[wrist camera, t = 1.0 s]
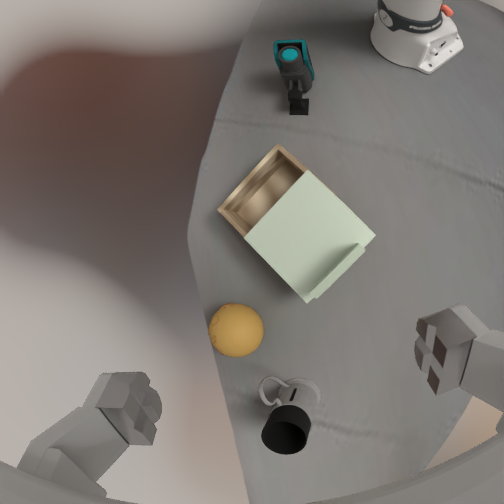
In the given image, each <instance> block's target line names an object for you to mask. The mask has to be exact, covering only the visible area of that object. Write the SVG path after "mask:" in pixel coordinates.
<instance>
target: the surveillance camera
mask: <svg viewBox="0 0 504 504" xmlns="http://www.w3.org/2000/svg"><path fill="white" fill-rule="evenodd" d="M274 56H275V61H276V63H277V65H278V67H279V70H280V73H281V75H282V78H283V80H284V82H285V84H286V87H287V89H288V90H289V93H288V100H289V102H291V103H290V115H308V108H309V99H302V91H308V90H310V89H311V87H312V80H314V71H313V67H312V64H311V60H310V56H309V52H308V48H307V45H306V42H305V41H304V40H302V39H300V40H278V41H275V42H274Z"/></svg>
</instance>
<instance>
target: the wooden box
mask: <svg viewBox="0 0 504 504" xmlns="http://www.w3.org/2000/svg"><path fill="white" fill-rule="evenodd" d="M307 170H308V169H307V168H306V167H305V166H304V165H303V164H302V163H300V162H299V161H298V160H297V159H296V158H295V157H294V156H292V155H291V154H290V153H289V152H288V151H287V150H285V149H284V148H283V147H282V146H281V145H280V144H278V143H277V145H276V146H275V147H274V148H273V149H272V150H271V151H270V152H269V153H268V154H267V155H266V156H265V157H264V158H263V159H262V161H261V162H260V163H259V164H258V165H257V166H256V167H255V168H254V169H253V170H252V171H251V172H250V174H249V175H248V176H247V177H246V178H245V179H244V180H243V181H242V182H241V183H240V185H239V186H238V187H237V188H236V189H235V190H234V191H233V192H232V193H231V195H230V196H229V197H228V198H227V199H226V200H225V201H224V202H223V204H222V205H221V206H220V207H219V208H218V209H217V210H218V211H219V212H220V213H221V214H222V215H223V216H224V217H225V218H226V219H227V220H228V221H229V222H230V223H231V224H232V225H233V227H234V228H235V229H236V230H237V231H238V232H239V233H240V234H241V235H242V236H243V237H245V236H246V235H247V234H248V233H249V231H250V230H251V229H252V228H253V227H254V226H255V225H256V224H257V223H258V222H259V221H260V220H261V219H262V218H263V216H264V215H265V214H266V213H267V212H268V211H269V210H270V209H271V208H272V207H273V206H274V205H275V204H276V203H277V201H278V200H279V199H280V198H281V197H282V196H283V195H284V194H285V193H286V192H287V191H288V190H289V189H290V188H291V187H292V186H293V185H294V183H295V182H296V181H297V180H298V179H299V178H300V177H301V176H302V175H303V174H304V173H305V172H306V171H307ZM310 172H311V171H310ZM311 173H312V172H311ZM312 174H313V173H312ZM313 175H314V174H313ZM314 176H315V175H314ZM315 177H316V176H315ZM316 178H317V177H316ZM317 179H318V178H317ZM321 182H322V181H321ZM322 183H323V182H322ZM323 184H324V183H323ZM324 185H325V184H324ZM325 186H326V185H325ZM326 187H327V186H326ZM327 188H328V187H327ZM328 189H329V188H328ZM329 190H330V189H329ZM330 191H331V190H330ZM331 192H332V191H331ZM337 197H338V196H337Z"/></svg>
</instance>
